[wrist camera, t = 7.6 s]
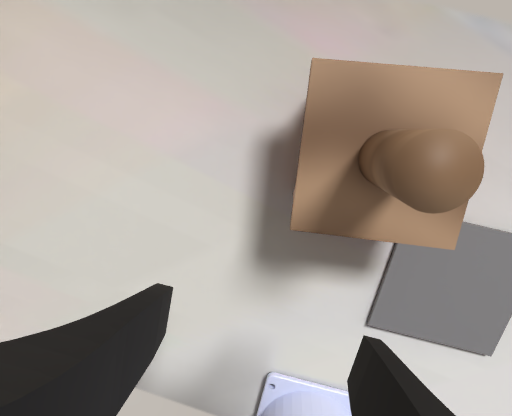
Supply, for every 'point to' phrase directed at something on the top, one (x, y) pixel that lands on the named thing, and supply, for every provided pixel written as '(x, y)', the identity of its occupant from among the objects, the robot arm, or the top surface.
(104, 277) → the top surface
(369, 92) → the lid
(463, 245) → the mat
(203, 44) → the top surface
